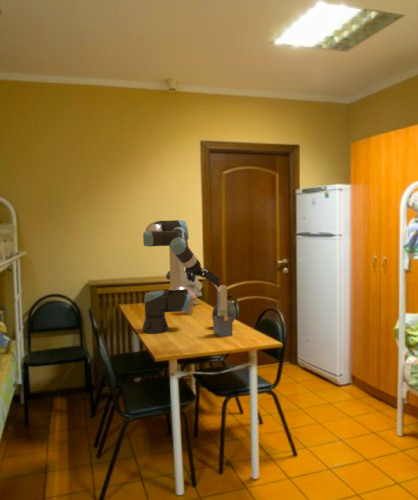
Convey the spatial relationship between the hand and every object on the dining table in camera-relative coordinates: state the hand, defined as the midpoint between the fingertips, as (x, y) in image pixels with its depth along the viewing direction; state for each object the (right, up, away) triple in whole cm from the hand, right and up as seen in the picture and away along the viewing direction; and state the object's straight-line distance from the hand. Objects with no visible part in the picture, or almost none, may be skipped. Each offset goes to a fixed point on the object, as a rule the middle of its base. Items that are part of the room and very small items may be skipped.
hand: (210, 288), depth 237 cm
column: (+7, -19, +8) cm, 22 cm away
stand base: (+7, -27, +9) cm, 29 cm away
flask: (+8, -26, +28) cm, 39 cm away
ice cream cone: (-15, -24, +72) cm, 77 cm away
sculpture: (-20, -22, +109) cm, 113 cm away
